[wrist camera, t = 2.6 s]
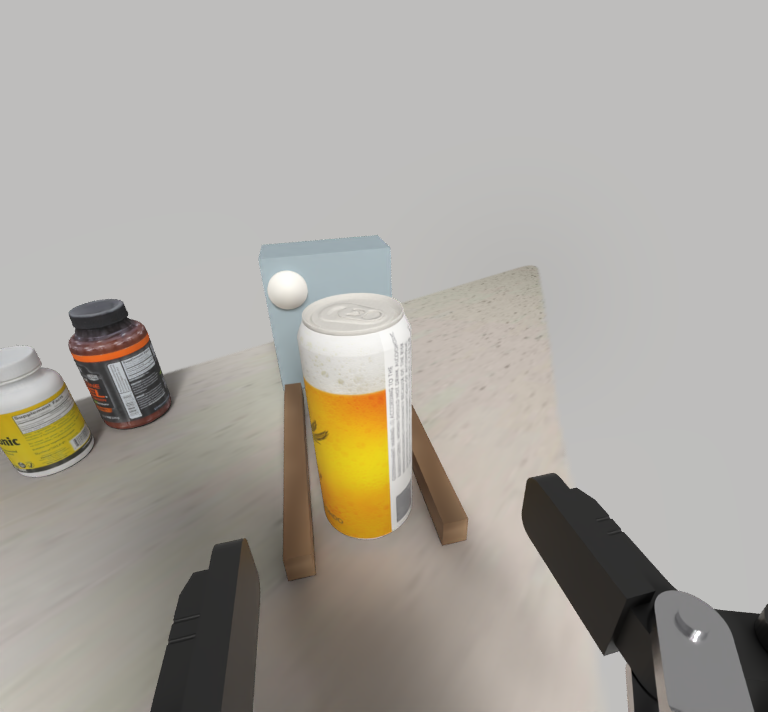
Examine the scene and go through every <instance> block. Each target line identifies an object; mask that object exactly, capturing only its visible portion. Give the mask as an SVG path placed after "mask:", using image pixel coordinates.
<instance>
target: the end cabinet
mask: <svg viewBox="0 0 768 712" xmlns="http://www.w3.org/2000/svg"><path fill="white" fill-rule="evenodd" d="M258 260H259V265H260V271H261V275H262V281H263V285H264V291H265V296H266V302H267V307H268V311H269V317H270V322H271V327H272V333H273V338H274V343H275V348H276V353H277V359H278V364H279V369H280V374H281V379H282V384H283V390H284V391H285V385H286V384H293V383H300V382H301V386H302V389H303V388H305V384H304V378H303V372H302V366H301V359H300V353H299V347H298V341H297V333H298V330H299V327H300V324H301V321H302V312H303V310H304V309H305V308H306V307H307V306H308V305H310V304H312V303H313V302H315V301H318V300H320V299H323V298H326V297H330V296H335V295H340V294H348V293H373V294H380V295H385V296H388V297H391V298H392V290H391V289H392V288H391V255H390V247H389V246H388V245H387V244H386V243H385V242H384V241H383V240H382V239H381V238H380V237H379V236H378V235H375V236H363V237H351V238H339V239H328V240H315V241H303V242H292V243H279V244H269V245H268V244H267V245H262V247H261V251H260V255H259V259H258Z"/></svg>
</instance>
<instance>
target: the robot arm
mask: <svg viewBox="0 0 768 712" xmlns="http://www.w3.org/2000/svg"><path fill="white" fill-rule="evenodd" d="M522 521H523V525H524V528H525V530H526V533H527V535H528V536H529V538H530V539H531V541H532V543H533V544H534V546H535V547H536V549H537V551H538V552H539V554H540V555H541V557H542V558H543V560H544V562H545V563H546V565H547V566H548V568H549V570H550V571H551V573H552V574H553V576H554V578H555V579H556V581H557V582H558V584H559V585H560V587H561V589H562V590H563V592H564V593H565V595H566V597H567V598H568V600H569V601H570V603H571V604H572V606H573V608H574V609H575V611H576V612H577V614H578V616H579V617H580V619H581V620H582V622H583V623H584V625H585V627H586V628H587V630H588V631H589V633H590V635H591V636H592V638H593V639H594V641H595V642H596V644H597V646H598V647H599V649H600V650H601V652H602V654H603V655H604V656H605V655H608V654H611V653H615V652H618V651H620V653H621V654H622V656H623V657H624V659H625V660H626V662H627V664H626V684H627V699H628V712H768V604H767V605H766V607H765V608H764V610H763V611H762V613H761V614H756V613H745V612H735V611H725V610H717V609H713V608H712V607H711V606H709V605H708V604H707V603H705V602H704V601H702V600H701V599H699V598H697V597H695V596H693V595H691V594H688V593H685V592H681V591H678V590H676V589H675V588H674V587H673V586H672V585H671V584H670V583H669V582H668V581H667V580H666V579H665V578H664V577H663V575H662V574H661V573H660V572H659V571H658V570H657V569H656V567H655V566H654V565H653V564H652V563H651V562H650V561H649V560H648V559H647V558H646V556H645V555H644V554H643V553H642V552H641V551H640V550H639V548H638V547H637V546H636V545H635V544H634V543H633V542H632V541H631V539H630V538H629V537H628V536H627V535H626V534H625V533H624V532H622V531H621V528H620V527H619V526H618V525H617V524H616V523H615V522H614V520H613V519H610V518H609V515H608V514H607V513H606V511H605V510H604V509H603V508H602V507H601V506H600V505H599V504H598V503H597V501H596V500H595V499H593V498H591V497H590V496H588V495H587V494H585V493H584V492H582V491H581V490H579V489H578V488H573V489H569V487H568V486H567V485H566V484H565V483H564V481H563V480H562V479H561V478H560V477H559V476H558V475H557V474H555V473H550V474H545V475H541V476H536V477H531V478H529V479H528V480H527V483H526V489H525V495H524V501H523V508H522ZM259 607H260V583H259V576H258V572H257V569H256V566H255V563H254V560H253V557H252V554H251V551H250V548H249V545H248V542H247V540H246V539H245V538H244V539H239V540H234V541H230V542H225V543H220V544H216V545H215V546H214V548H213V551H212V555H211V560H210V565H209V569H208V570H203V571H199V572H195V573H193V574H192V576H191V578H190V579H189V581H188V583H187V584H186V586H185V587H184V589H183V591H182V592H181V594H180V595H179V599H178V603H177V607H176V611H175V615H174V619H173V620H174V623H173V624H172V627H171V631H170V635H169V639H168V641H169V643H168V645H167V647H166V651H165V655H164V659H163V663H162V667H161V671H160V675H159V679H158V683H157V687H156V691H155V695H154V699H153V703H152V707H151V711H150V712H253V697H254V682H255V667H256V652H257V637H258V622H259Z"/></svg>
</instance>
